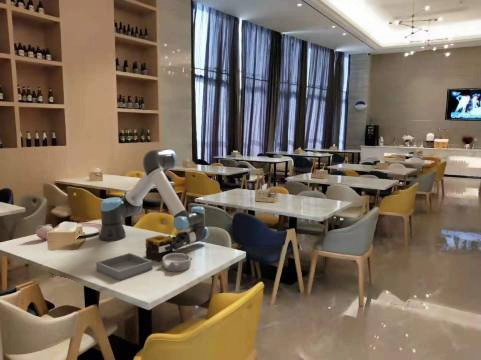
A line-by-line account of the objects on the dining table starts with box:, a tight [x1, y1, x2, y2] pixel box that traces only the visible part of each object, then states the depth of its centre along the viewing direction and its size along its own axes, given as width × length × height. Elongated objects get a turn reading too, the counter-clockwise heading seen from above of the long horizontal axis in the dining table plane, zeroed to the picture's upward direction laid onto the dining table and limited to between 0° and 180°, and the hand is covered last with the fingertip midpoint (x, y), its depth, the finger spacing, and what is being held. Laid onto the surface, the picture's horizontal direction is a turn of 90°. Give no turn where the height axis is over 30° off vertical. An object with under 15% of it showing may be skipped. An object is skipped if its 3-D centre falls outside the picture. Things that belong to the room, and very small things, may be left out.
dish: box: [161, 252, 193, 272], centre depth 188 cm, size 14×14×5 cm
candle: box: [145, 234, 174, 262], centre depth 201 cm, size 10×10×10 cm
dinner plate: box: [76, 222, 102, 237], centre depth 246 cm, size 28×27×3 cm
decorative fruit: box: [35, 222, 54, 241], centre depth 230 cm, size 9×8×10 cm
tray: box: [95, 252, 153, 282], centre depth 183 cm, size 18×18×4 cm
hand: (152, 247), depth 198 cm, fingers closed on candle, 10 cm apart
